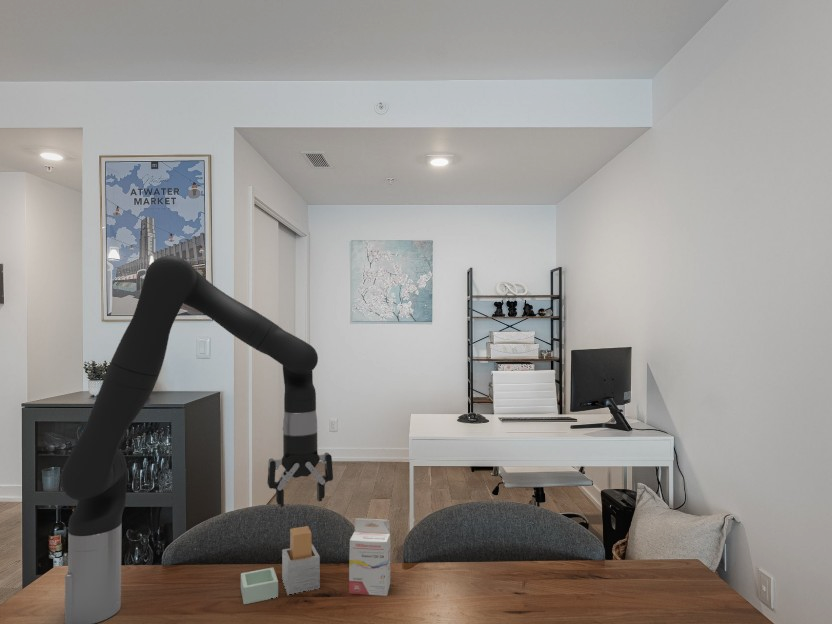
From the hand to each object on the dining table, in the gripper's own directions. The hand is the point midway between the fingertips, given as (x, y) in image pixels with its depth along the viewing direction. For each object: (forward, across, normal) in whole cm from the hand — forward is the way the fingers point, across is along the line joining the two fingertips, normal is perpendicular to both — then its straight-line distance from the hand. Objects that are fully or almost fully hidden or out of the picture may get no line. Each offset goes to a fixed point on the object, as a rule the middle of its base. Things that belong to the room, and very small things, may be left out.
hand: (300, 503), depth 117 cm
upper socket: (+18, 0, 0) cm, 18 cm away
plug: (+14, 0, 0) cm, 14 cm away
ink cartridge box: (+18, +13, -8) cm, 24 cm away
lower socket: (+18, -9, 0) cm, 20 cm away
